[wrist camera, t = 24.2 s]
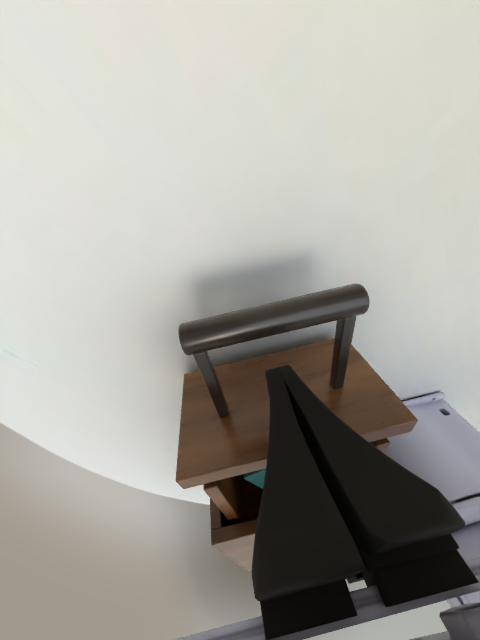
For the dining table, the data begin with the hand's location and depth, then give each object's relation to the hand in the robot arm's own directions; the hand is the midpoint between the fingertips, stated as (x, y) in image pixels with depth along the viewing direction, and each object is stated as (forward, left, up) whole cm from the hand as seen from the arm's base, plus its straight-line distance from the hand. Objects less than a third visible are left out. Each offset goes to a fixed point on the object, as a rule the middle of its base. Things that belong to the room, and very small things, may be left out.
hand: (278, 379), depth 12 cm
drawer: (0, +6, -4) cm, 7 cm away
